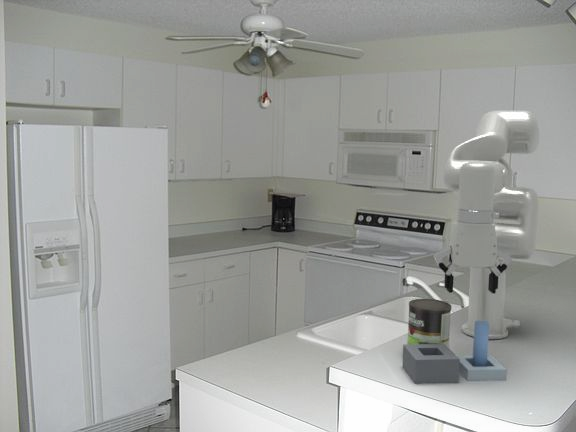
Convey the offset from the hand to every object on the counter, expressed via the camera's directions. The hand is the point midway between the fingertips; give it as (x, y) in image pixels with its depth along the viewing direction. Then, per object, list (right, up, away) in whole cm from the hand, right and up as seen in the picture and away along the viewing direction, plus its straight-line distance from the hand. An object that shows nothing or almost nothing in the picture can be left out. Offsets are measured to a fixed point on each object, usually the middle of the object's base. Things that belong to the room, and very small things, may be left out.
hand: (470, 291), depth 137 cm
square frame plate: (+3, -20, +3) cm, 20 cm away
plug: (+3, -19, +3) cm, 20 cm away
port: (-9, -20, +1) cm, 22 cm away
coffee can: (-7, -19, +13) cm, 24 cm away
